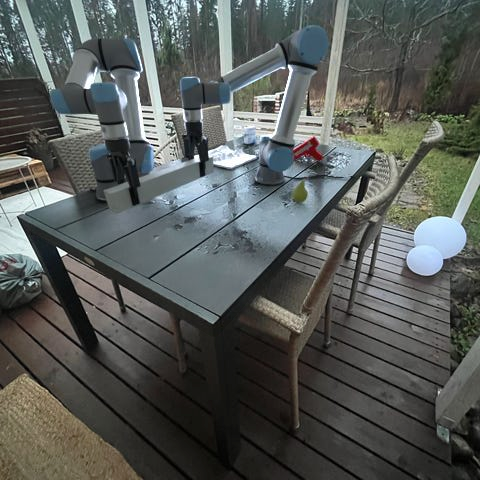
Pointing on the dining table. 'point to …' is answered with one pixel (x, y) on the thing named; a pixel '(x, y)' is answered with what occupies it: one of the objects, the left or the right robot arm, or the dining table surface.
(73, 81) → the left robot arm
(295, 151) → the toy gun
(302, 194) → the fruit
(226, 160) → the relief map
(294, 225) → the dining table surface
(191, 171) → the bar
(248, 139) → the ink box
